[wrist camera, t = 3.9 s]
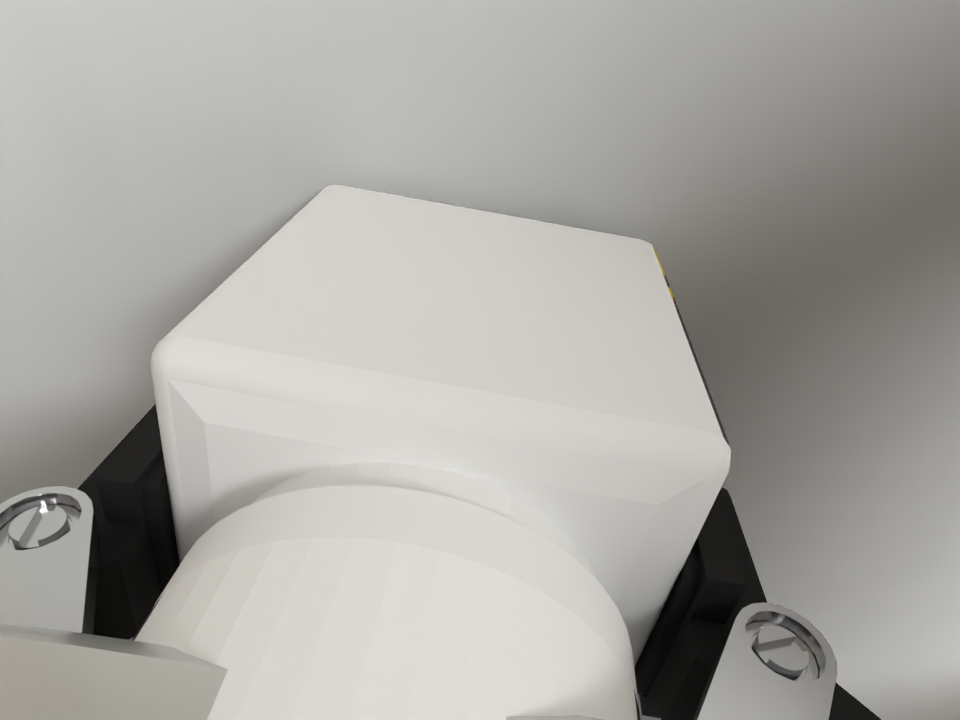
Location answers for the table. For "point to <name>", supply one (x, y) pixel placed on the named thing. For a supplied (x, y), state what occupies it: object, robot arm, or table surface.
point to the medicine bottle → (430, 466)
